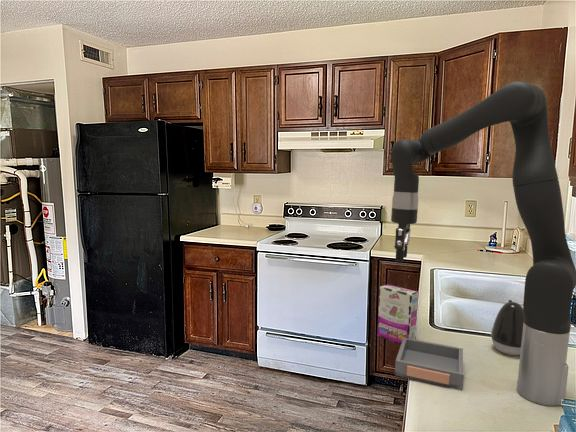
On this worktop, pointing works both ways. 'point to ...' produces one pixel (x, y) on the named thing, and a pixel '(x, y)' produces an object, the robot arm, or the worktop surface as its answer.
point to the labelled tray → (430, 363)
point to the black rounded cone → (508, 328)
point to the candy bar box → (397, 313)
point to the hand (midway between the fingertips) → (401, 259)
